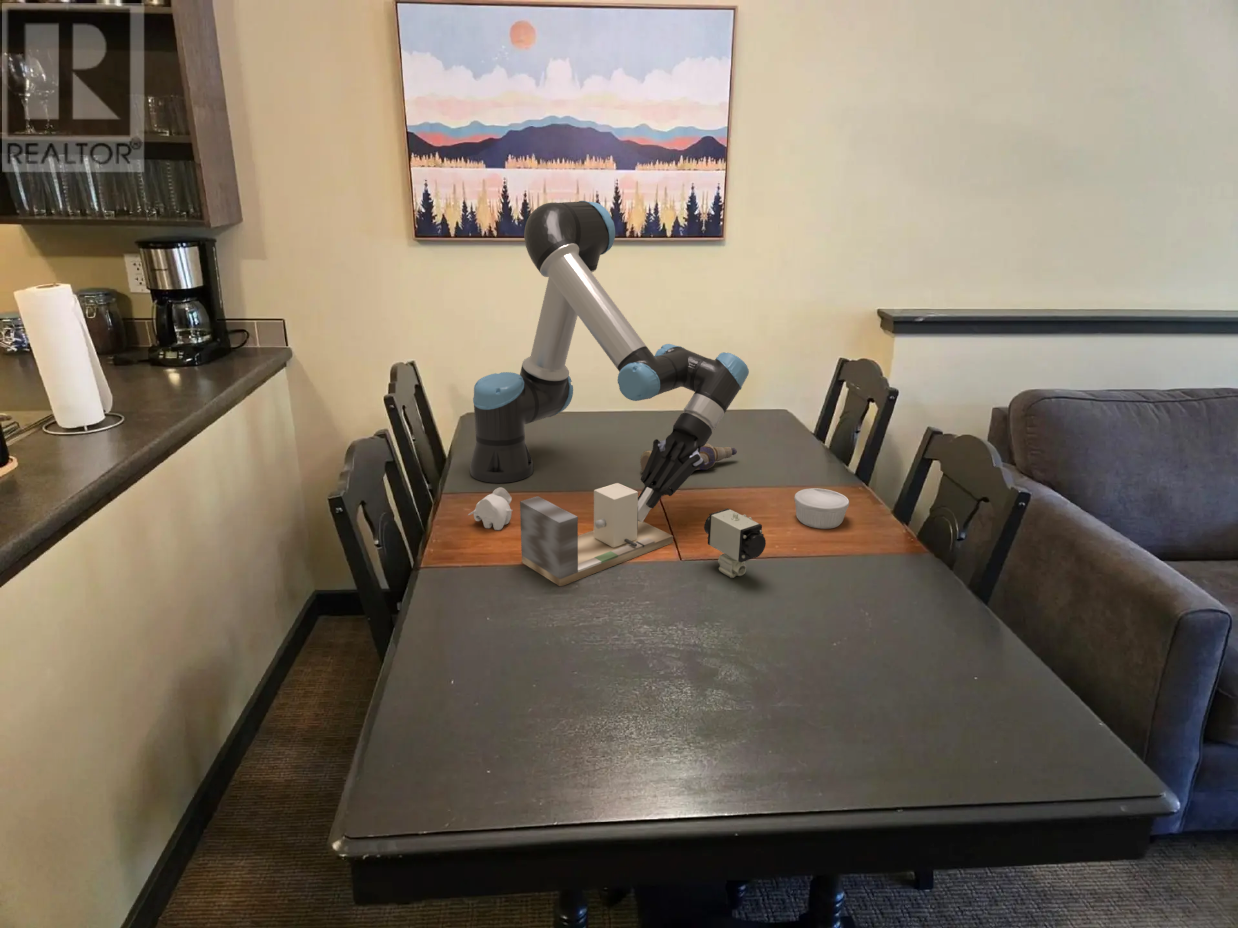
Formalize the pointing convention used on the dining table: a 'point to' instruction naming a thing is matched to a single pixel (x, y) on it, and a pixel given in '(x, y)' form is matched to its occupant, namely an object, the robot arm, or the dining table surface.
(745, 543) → the pneumatic valve
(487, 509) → the elephant figurine
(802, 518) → the ramekin
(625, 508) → the block
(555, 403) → the robot arm
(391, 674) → the dining table surface
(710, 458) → the decorative bottle
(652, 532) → the board
